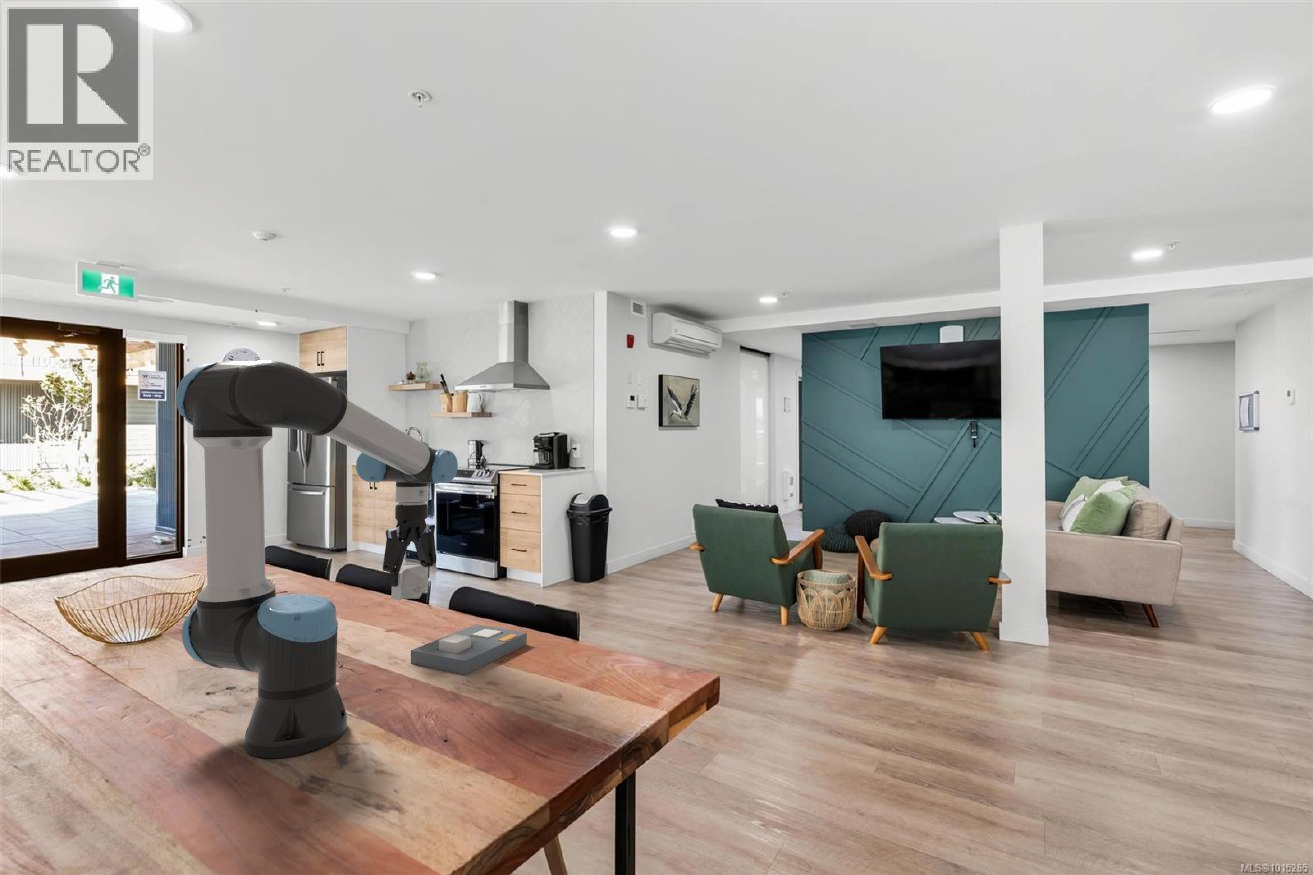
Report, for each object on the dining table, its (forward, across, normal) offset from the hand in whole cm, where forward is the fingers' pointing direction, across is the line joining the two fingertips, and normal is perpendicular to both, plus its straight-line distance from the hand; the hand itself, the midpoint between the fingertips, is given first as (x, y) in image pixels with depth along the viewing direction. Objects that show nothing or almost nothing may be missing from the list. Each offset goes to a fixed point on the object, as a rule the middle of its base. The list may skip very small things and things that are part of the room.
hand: (409, 595), depth 152 cm
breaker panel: (+12, +3, -17) cm, 22 cm away
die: (+1, 0, 0) cm, 1 cm away
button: (+11, -3, -17) cm, 21 cm away
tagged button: (+12, +8, -17) cm, 23 cm away
